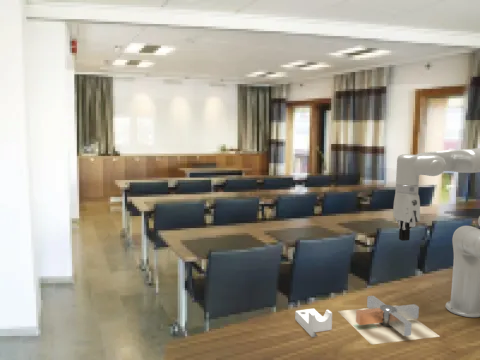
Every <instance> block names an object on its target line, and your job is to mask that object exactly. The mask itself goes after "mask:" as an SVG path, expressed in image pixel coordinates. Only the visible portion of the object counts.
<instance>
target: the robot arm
mask: <svg viewBox="0 0 480 360" xmlns="http://www.w3.org/2000/svg"><path fill="white" fill-rule="evenodd" d="M444 172H453V173H455V172H456V173H461V174H462V173H463V174H465V173H466V174H474V173H480V147H476V148H463V149H452V150H451V149H450V150H440V151H426V152H420V153H419V152H418V153H416V154H411V153H410V154H409V153H408V154H399V155H398V156H397V158H396V172H395V174H396V175H395V176H396V179H395V190H394V191H395V194H394V200H393V209H392V210H393V211H392V216H393V218H394V221H396V223H397V224H398V228H399V231H398V240H400V241H401V242H402V241H410V238H411V237H410V235H411V229H412V228H414V227H416V223H420V221H421V200H420V195H419V188H420V187H419V186H420V185H419V184H420V182H419V181H420V175H421V176H429V177H436V176H439V175H441V174H443V173H444ZM477 222H478V223H477V224H478V226H479V227H480V215H479V216H478V219H477ZM451 241H452V248H453V249H452V250H453V251H452V252H453V266H452V267H453V268H452V280H451V293H450V300H449V301H446V303H445V308H446V309H447V311H448V312H451V314H455V315H457V316H461V317H466V318H480V228H478V227H475V226H471V225H462V226H460V227H459V226H458V228H457V229H455V231H454V232H453V235H452V239H451Z"/></svg>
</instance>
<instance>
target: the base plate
mask: <svg viewBox="0 0 480 360" xmlns="http://www.w3.org/2000/svg"><path fill="white" fill-rule="evenodd" d="M395 306H398V304H397V305H395ZM365 309H369V308H368V307H366V308H365V307H364V308H357V309H356V308H355V309H346V310H345V309H344V310H337V313H338V314H339V315H340V316H341V317H343V318H344V319H345V320H346V321H347V322H348V324H350V325H351V326H352V327H353V328H354V329H355V330H356V332H358V333H359V334H360V335H361V336H362V337H363V338H364V339H365V340H366V341H367V342H368V343H369V344H370V345H377V344H387V343H388V344H389V343H396V342H397V343H398V342H405V341H414V340H421V339H422V340H424V339H432V338H440V337H441V336H440V335H439V334H437V333H436V332H435V331H433V330H432V329H431V328H429V327H428V326H426V325H425V324H424V323H422V322H421V321H419V320H418V318H417V319H408V321H409V322H411V323H412V325H411V335H409V336H403V335H402V334H401V333H400V332H398V331H397V330H396V329H394V328H393V327H386V326H383V325H381V324H380V323H374V324H365V325H359V324H358V323H357V322H356V310H365Z"/></svg>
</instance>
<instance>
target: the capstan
mask: <svg viewBox="0 0 480 360" xmlns="http://www.w3.org/2000/svg"><path fill="white" fill-rule="evenodd" d="M366 300H367V301H366V308H369V309H365V310H356V322H357V323H358V324H359V325H365V324H374V323H380V324H381V325H383V326H386V327H393V328H394V329H396V330H397V331H398V332H400V333H401V334H402V335H403V336H409V335H411V325H412V323H411V322H409V321H408V319H417V320H418V319H419V312H420V306H418V305H417V304H416V303H413V304H403V305H397V306H396V305H390V304H385V303H384V302H383V301H381V300H380V299H379V298H377V297H376V296H375V295H368V296H367V299H366Z"/></svg>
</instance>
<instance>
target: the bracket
mask: <svg viewBox="0 0 480 360" xmlns="http://www.w3.org/2000/svg"><path fill="white" fill-rule="evenodd" d="M294 315H295V317H294V318H295V319H294V321H296V322H297V323H298V325H299V326H301V327H302V328H303V329H304V331H306V333H307V334H308V335H309V336H310V337H311V338H315V337H318V334H317V333H318V332H319V333H320V332H325V331H327V332H328V331H332V329H333V312H332V311H331V310H329V309H326V310H325V312H324V314H323V315H322V314H321V313H319V312H318V311H317V310H316V309H315V308H314V307H313V308H306V309H299V310H295V314H294Z"/></svg>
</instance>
